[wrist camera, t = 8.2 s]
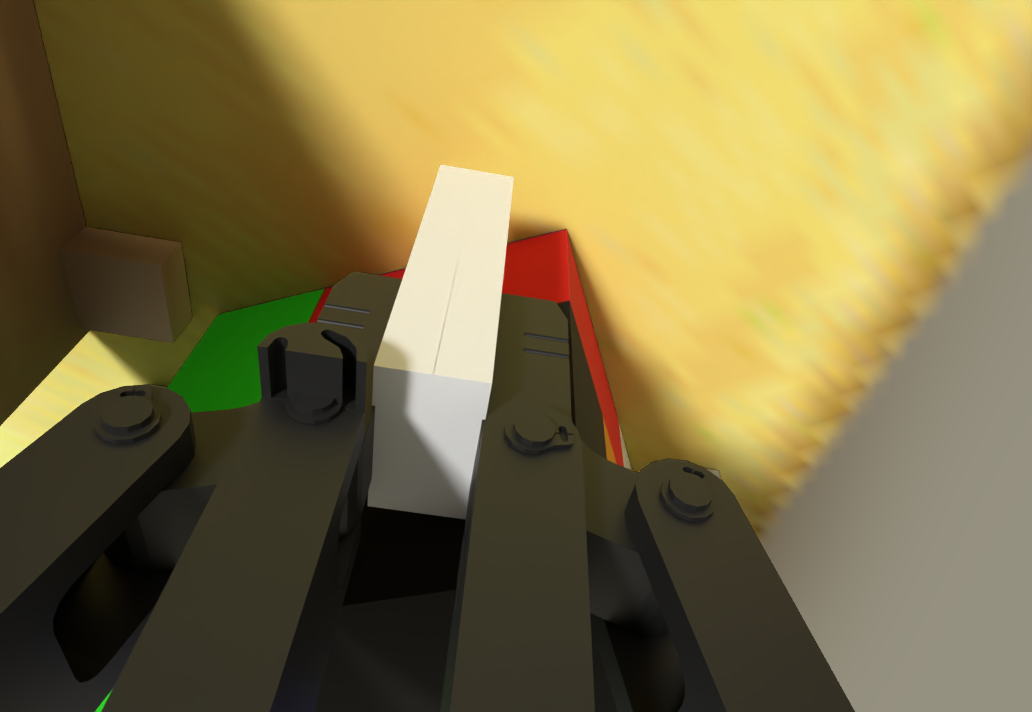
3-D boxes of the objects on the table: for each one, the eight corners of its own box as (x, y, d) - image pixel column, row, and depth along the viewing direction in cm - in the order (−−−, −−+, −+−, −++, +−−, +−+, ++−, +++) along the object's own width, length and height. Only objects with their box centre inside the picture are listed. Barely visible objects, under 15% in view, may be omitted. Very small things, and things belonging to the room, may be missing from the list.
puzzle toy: (637, 491, 23) (685, 843, 15) (364, 535, 25) (276, 866, 17) (566, 228, 17) (582, 572, 9) (217, 314, 19) (-22, 657, 11)
